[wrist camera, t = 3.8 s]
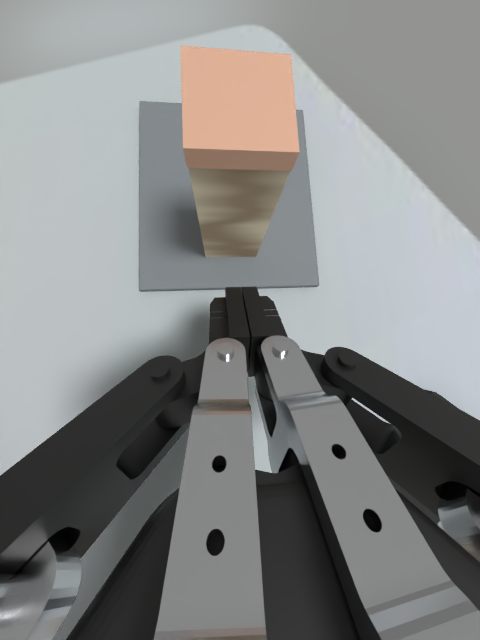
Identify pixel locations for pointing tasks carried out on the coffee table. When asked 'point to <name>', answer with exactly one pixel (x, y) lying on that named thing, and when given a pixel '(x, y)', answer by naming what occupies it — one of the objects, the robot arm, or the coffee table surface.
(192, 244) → the rubber mat
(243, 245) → the birch block
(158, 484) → the coffee table surface
